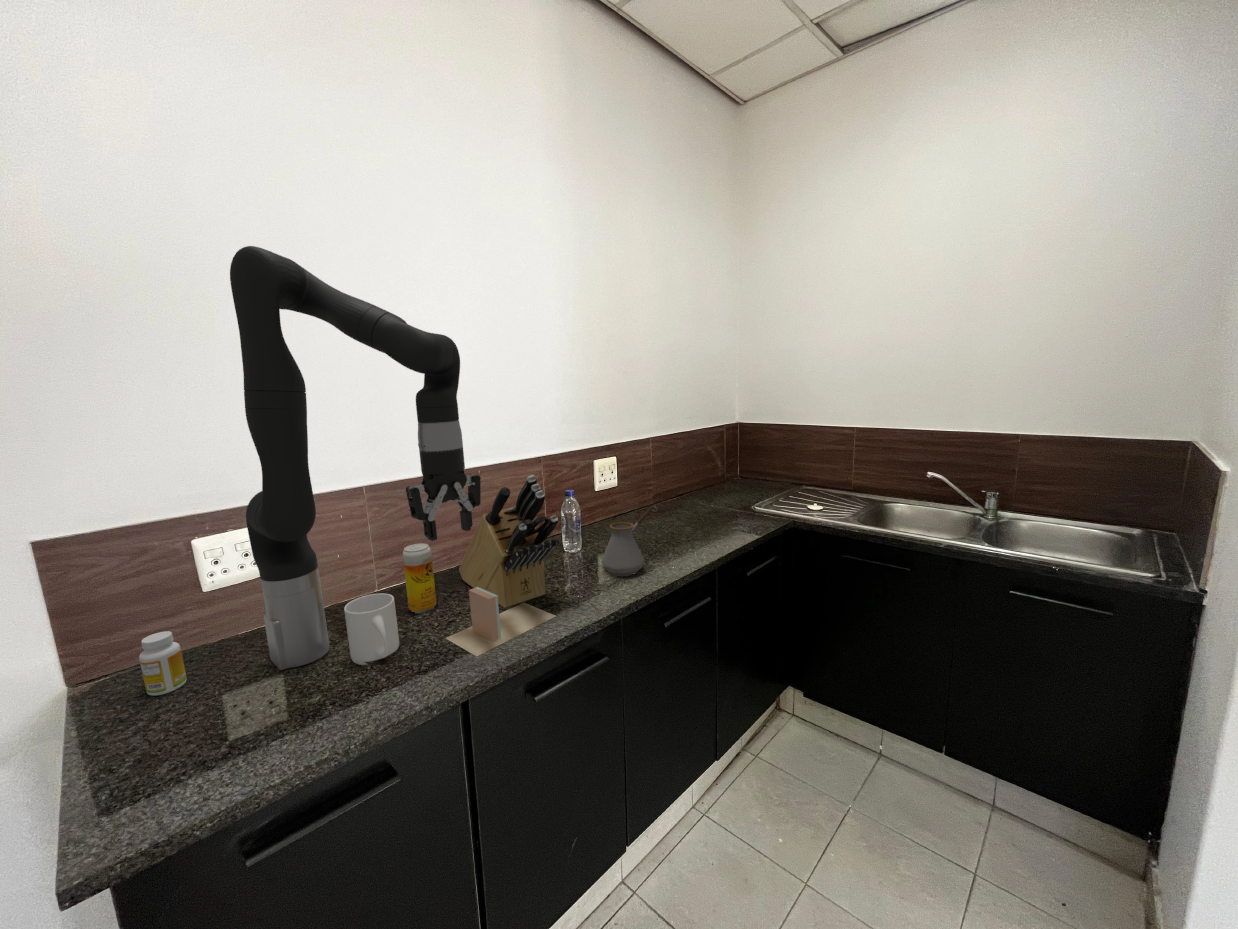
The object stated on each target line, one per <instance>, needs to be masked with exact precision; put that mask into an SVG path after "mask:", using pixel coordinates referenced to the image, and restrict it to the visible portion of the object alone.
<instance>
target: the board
mask: <svg viewBox="0 0 1238 929" xmlns="http://www.w3.org/2000/svg"><path fill="white" fill-rule="evenodd" d="M555 617H557V616H556V615H554V614H553V613H549V612H547V611H545V610H543V609H540V608H538V607H535V606H533V605H531V604H528V603H526V602H521V603H519V604H518V605H517V604H516V605H515V606H514V607H510V608H508V609H507V610H504V611H502V612H499V618H500V631H501V638H500V639H497V640H495V641H493V642H492V641H490V640H488V639H486V638H485V637H483V636H481V635H479V634H477V633H475V632H473V630H472V625H471V626H469V627H467V628H464V629H462V630H460V631H457V632H456V633H454V634H451V635H449V636H447V637H445V639H446V640H447V641H450V643H453V644H454V645H456V646H457V647H459V648H460V649H463V650H464V651H466V652H468V653H470V654H471V655H473V656H475V657H479V656H480V655H483V654H484V653H487V652H489V651H490V650H492V649H495V648H496V647H498V646H500V645H502V644H505V643H506V642H508V641H511V640H513V639H514V638H516V637H519V636H520V635H522V634H524V633H526V632H528V631H529V630H532V629H534V628H535V627H539V626H540V625H541V624H544V623H546V622H548V621H550V620H552V619H554V618H555Z"/></svg>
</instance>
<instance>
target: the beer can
mask: <svg viewBox="0 0 1238 929" xmlns="http://www.w3.org/2000/svg"><path fill="white" fill-rule="evenodd" d="M432 556H433V554H432V549H431V547H430V546H429V544H428V543H414V544H410V545H407V546H405V547H404V548H403V551H402V560H403V571H404V579H405V589H406V596H407V606H408V610H409V611H411V613H413V612H415V613H414V614H423V613H426V612H429V611H430V610H433V609H434V608H435V606H436V605H437V595H436V585H435V584H436V583H435V576H434V574H435V573H434V566H433V557H432Z"/></svg>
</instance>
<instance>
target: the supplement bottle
mask: <svg viewBox="0 0 1238 929" xmlns="http://www.w3.org/2000/svg"><path fill="white" fill-rule="evenodd" d="M140 642H141V647H142V649H143V651H141V652H140V654H139V657H138V660H139V664H140V669H141V673H142V678H143V679H142V680H143V681H144V682H143V683H144V686H145V692H146V694H147V695H148V696H162V695H165V694H168V693H171V692H173V691H175V690H177V689H179V688H181V687H182V686H184V685H185V684H186V683H187V674H186V673H187V672H186V667H185V663H184V658H183V657H184V656H183V653H182V652H183V651H182V649H181V645H180V643H178V642H175V641H174V636H173V633H172V631H170V630H169V631H165V630H164V631H160V632H156V633H153V634H150V635H147V636H146V637H144V638H142V640H141V641H140Z"/></svg>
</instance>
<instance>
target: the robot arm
mask: <svg viewBox="0 0 1238 929" xmlns="http://www.w3.org/2000/svg"><path fill="white" fill-rule="evenodd" d="M229 268H230V269H229V282H230V288H231V295H232V298H233V306H234V310H235V315H236V320H237V326H238V327H237V328H238V331H239V340H240V351H241V360H242V370H243V371H242V372H243V373H242V374H243V396H244V409H245V410H244V412H245V418H246V423H247V427H248V430H249V434H250V437H251V439H252V442H253V445H254V448H255V450H256V452H257V455H258V460H259V462H260V468H261V478H262V480H261V481H262V482H261V487H262V489H261V491H259V492H257V493H256V494H255V495H254V496H253V497H251V499H250V501H249V502H248V503H247V507H246V511H245V521H246V528H247V533H248V539H249V543H250V548H251V553H252V554H251V555H252V557H253V560H254V563H255V565H256V567H257V569H258V570H257V571H258V572H259V578H260V583H261V584H260V585H261V589H262V596H263V603H264V610H265V613H263V622H264V628H265V633H266V639H267V646H268V651H269V657H270V660H271V662H272V663H273V664H274V666H276V667H277V668H278V670H279V671H283V670H286V669H290V668H297V667H301V666H304V665H308V664H311V663H313V662H316V661H317V660H319V659H322V657H324V656H325V655H326V654H327V653H328V652H329V651H330V639H329V636H328V627H327V621H326V613H325V608H324V607H325V605H324V598H323V593H322V592H323V591H322V586H321V585H322V584H321V578H320V572H319V564H318V558H317V554H316V552H315V551H314V549H313V548H312V546H311V544H310V542H309V539H308V536H307V535H308V534H309V532H310V531H311V530H312V528H313V526H314V524H315V522H316V517H317V512H316V511H317V510H316V503H315V496H314V491H313V486H312V480H311V474H310V468H309V441H308V440H309V437H308V436H309V435H308V408H307V407H308V406H307V389H306V388H307V387H306V382H305V379H304V376H303V373H302V371H301V369H300V367H299V366H298V363H297V362H296V360H295V358H294V356H293V354H292V352H291V351H290V348H289V346H288V345H287V343H286V340H285V338H284V334H283V331H282V326H281V325H282V324H281V314H280V313H281V312H280V310H283V311H286V310H288V311H293V312H296V313H299V314H304V315H308V316H310V317H314V318H317V319H320V320H321V321H324V322H326V323H328V324H330V325H331V326H333V327H334V328H335V329H337V330H339V331H340V332H341V333H343V334H344V335H346V336H348V337H349V338H351V339H353V340H354V341H357V342H359V343H360V344H363V345H365V346H367V347H369V348H372V349H373V350H376V351H377V352H381V353H382V354H385V355H386V356H388V357H389V358H391V359H392V360H394V361H395V362H396V363H398V364H400V365H401V366H403V367H404V368H406V369H409V370H410V371H413V372H416V373H418V374H423V375H424V376H423V378H424V379H423V386H422V388H421V389H419V391H417V392H416V394H415V408H416V410H415V411H416V415H417V416H416V417H417V441H418V442H417V446H418V450H419V461H420V471H421V475H422V481H421V484H418V485H414V486H411V485H408V486H406V487H405V492H406V496H407V497H406V498H407V502H408V506H409V507H408V508H409V512H410V516H411V518H413V519H415V520H419V521H422V523H423V533H424V536H425V538H427V540H429V541H431V542H434V541H438V534H437V533H438V531H437V524H436V520H435V519H436V518H435V517H436V515H437V512H438V510H439V509H441V505H442V504H443V503H447V502H449V501H455V503H456V505H458V506H459V508H460V511H459V515H460V516H459V517H460V528H461V530H462V531H465V532H470V531H472V527H473V525H474V524H473V514H472V511H473V509H474V508H475V507H479V506H480V505H481V499H482V498H481V475H478V474H474V473H469V474H468V475H466V473H465V468H466V466H465V463H466V462H465V455H464V454H465V452H464V444H463V434H462V428H461V424H460V415H459V405H458V399H457V398H458V390H459V384H460V383H459V382H460V373H461V357H460V353H459V349H458V346H457V345H456V343H455V341H454V340H453V339H452V338H451V337H449V336H447V335H445V334H442V333H434V332H429V331H425V330H423V329H419V328H417V327H414V326H412V325H411V324H408V323H407V322H406V320H405V319H403V318H402V317H400V316H398V315H397V314H394V313H392V312H391V311H388V310H386V309H384V308H381V307H379V306H378V305H375V304H373V303H370V302H368V301H365V300H363V299H360V298H358V297H356V296H352V295H349V294H347V293H345V292H344V291H343V292H342V291H341V290H339V289H337V288H336V287H333V286H331V285H329V284H328V283H326V282H325V281H323V280H322V279H320V278H318V276H316V275H314V274H313V273H311V272H310V271H308V270H307V269H306V268H304V267H302V266H301V265H300V264H298V263H297V262H296V261H294V260H292V259H290V258H288V257H285V256H282V255H280V254H277V253H276V252H273V251H271V250H268V249H265V248H262V247H259V246H254V245H246V246H243V247H241V248H240V249H238V250H237V251H236V252H235V254H234V256H233V257H232V260H231V263H230V267H229ZM466 485H467V493H466V492H465V491H464V488H465V486H466ZM423 492H425V493H426V498H425V500H424V503H422V497H423ZM423 506H424V507H423Z"/></svg>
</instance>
